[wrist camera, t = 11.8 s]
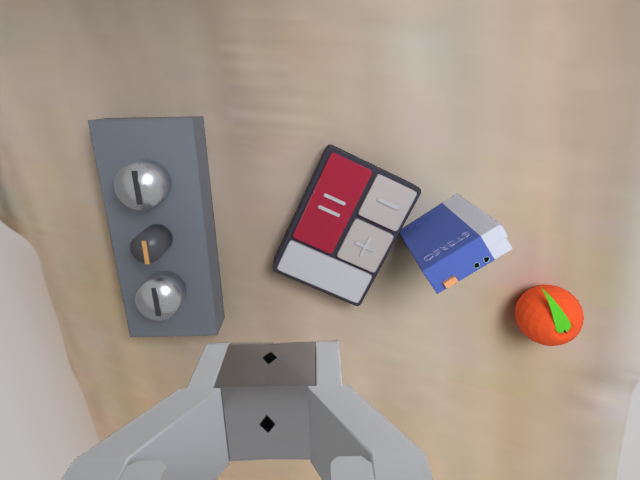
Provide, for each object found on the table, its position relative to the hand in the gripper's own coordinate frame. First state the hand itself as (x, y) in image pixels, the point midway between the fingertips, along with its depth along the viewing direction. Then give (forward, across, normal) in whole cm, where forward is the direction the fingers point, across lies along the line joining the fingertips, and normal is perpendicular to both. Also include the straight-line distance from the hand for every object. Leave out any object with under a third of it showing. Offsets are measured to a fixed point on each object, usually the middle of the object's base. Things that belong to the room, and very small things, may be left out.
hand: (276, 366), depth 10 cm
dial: (+33, +16, +8) cm, 38 cm away
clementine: (+37, -27, +18) cm, 49 cm away
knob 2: (+37, +16, +14) cm, 43 cm away
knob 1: (+37, +16, +2) cm, 40 cm away
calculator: (+38, -4, +8) cm, 39 cm away
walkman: (+37, -14, +8) cm, 41 cm away
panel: (+37, +16, +8) cm, 41 cm away
